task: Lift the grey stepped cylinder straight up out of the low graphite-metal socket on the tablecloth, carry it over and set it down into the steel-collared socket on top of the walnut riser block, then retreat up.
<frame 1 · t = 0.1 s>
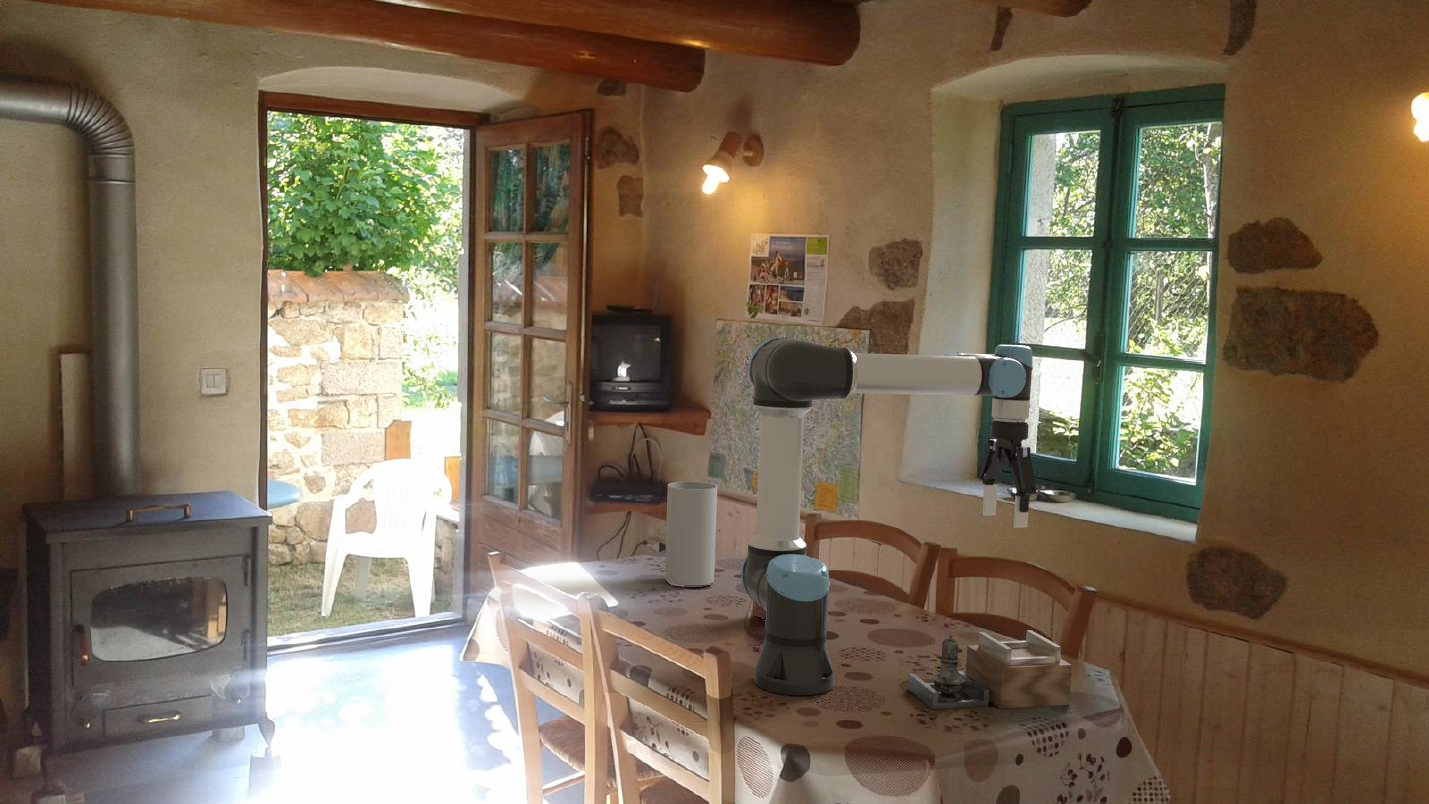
hand: (1004, 521, 248), 28 cm above the table, fingers open, 13 cm apart
milk bottle: (774, 619, 272), on the table
cylinder vase: (689, 583, 303), on the table
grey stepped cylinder: (947, 698, 221), resting in low socket
low socket: (947, 697, 221), on the table
riser: (1016, 694, 224), on the table
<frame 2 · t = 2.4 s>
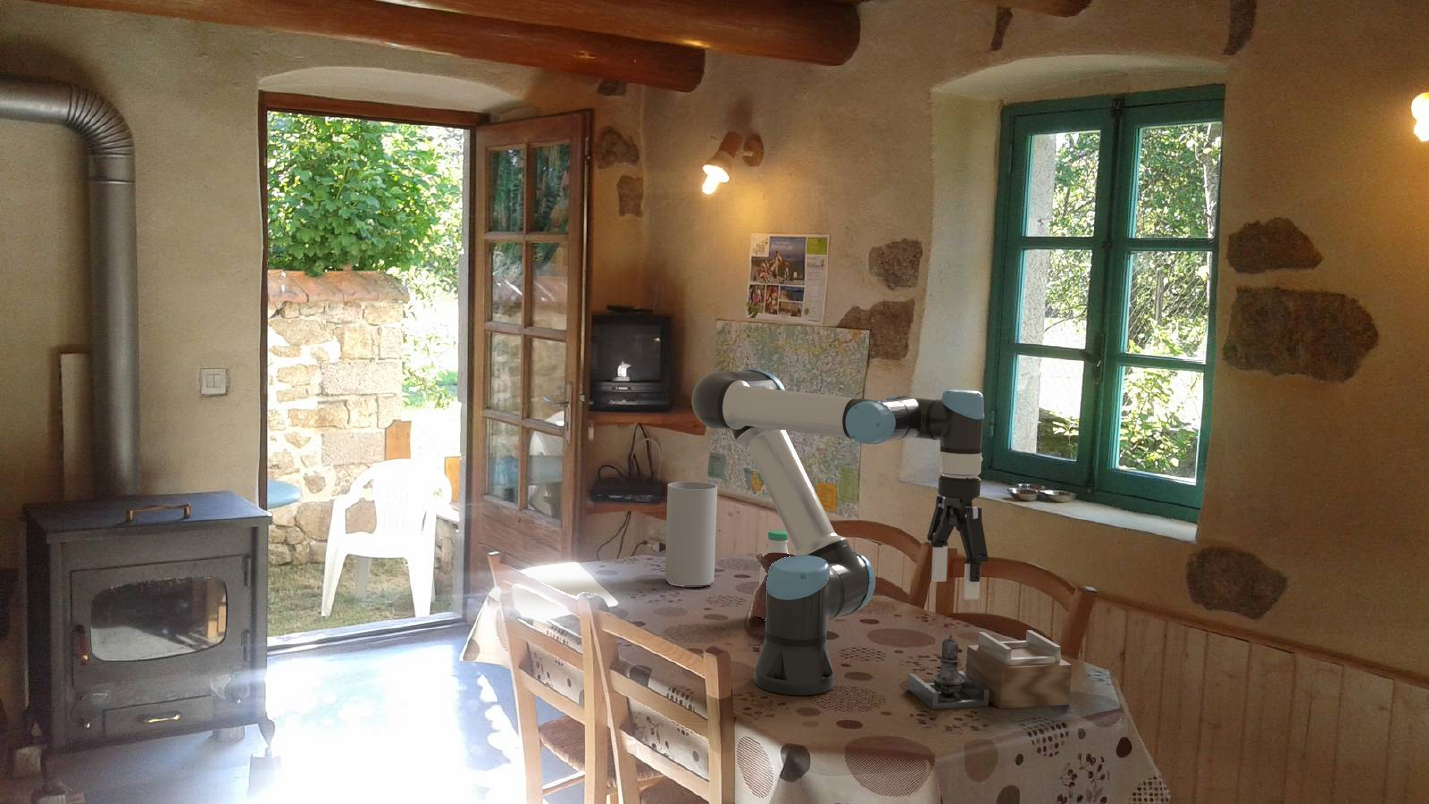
hand: (954, 590, 219), 20 cm above the table, fingers open, 13 cm apart
nothing on the table moved.
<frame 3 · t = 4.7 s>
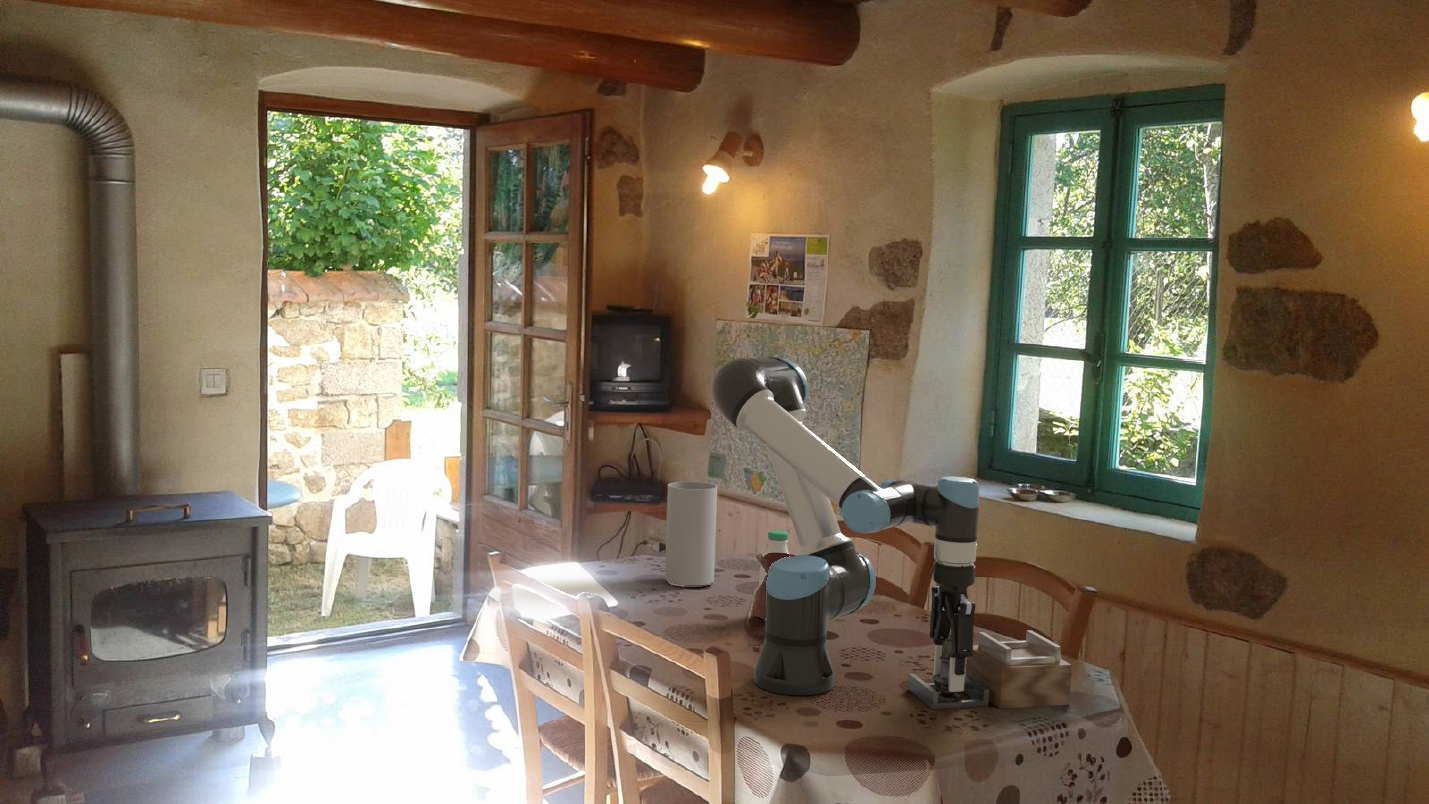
hand: (948, 684, 221), 2 cm above the table, fingers closed on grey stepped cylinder, 6 cm apart
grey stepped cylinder: (947, 698, 221), resting in low socket, touching gripper
everything else where it was.
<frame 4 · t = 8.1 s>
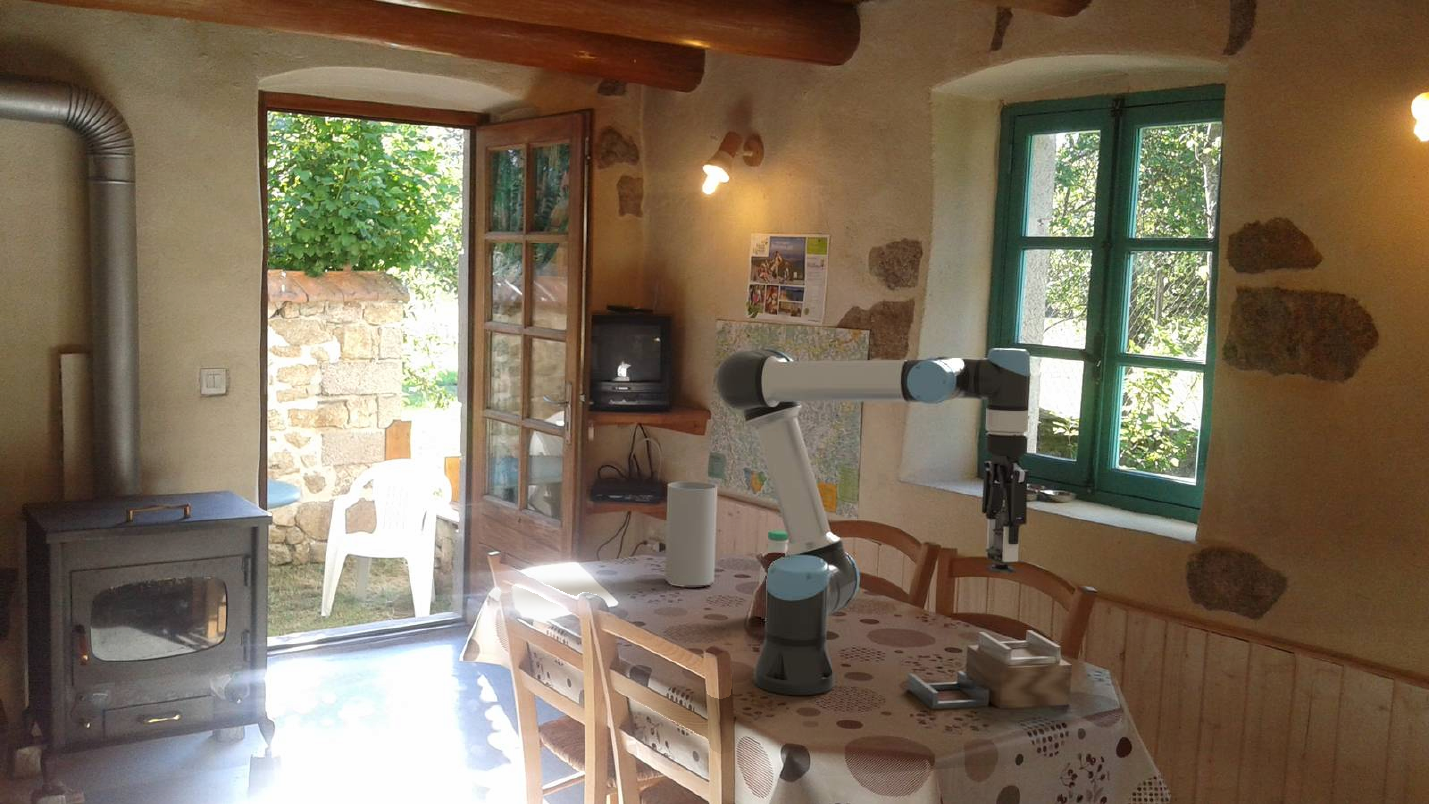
hand: (1002, 557, 220), 26 cm above the table, fingers closed on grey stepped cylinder, 6 cm apart
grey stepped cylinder: (1001, 571, 221), point 24 cm above the table, touching gripper
everything else where it was.
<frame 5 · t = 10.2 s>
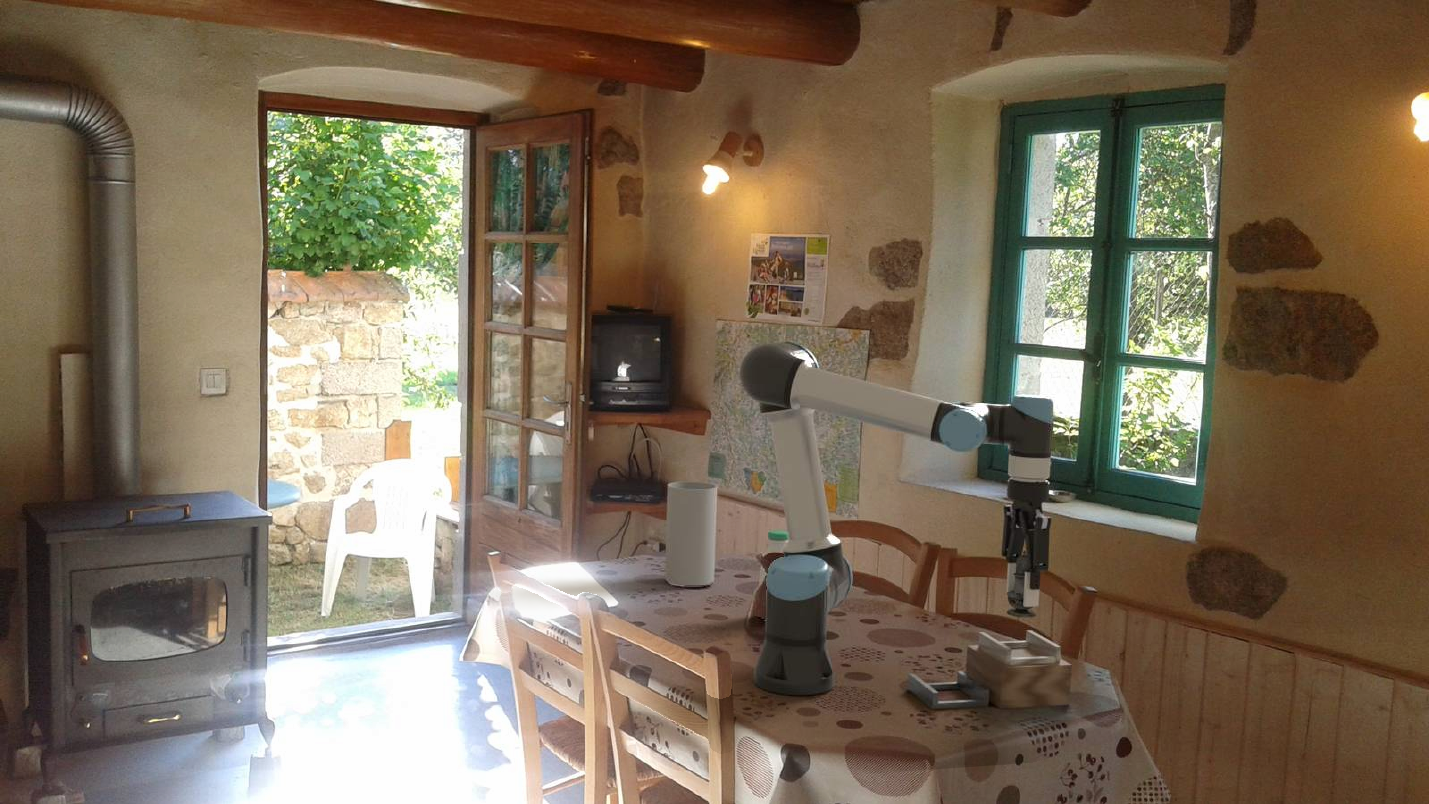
hand: (1022, 601, 223), 18 cm above the table, fingers closed on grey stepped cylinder, 6 cm apart
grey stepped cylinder: (1021, 614, 223), point 15 cm above the table, touching gripper
everything else where it was.
when the fingers open (11 cm above the table, at t = 11.8 s): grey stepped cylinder drops 1 cm, resting on riser.
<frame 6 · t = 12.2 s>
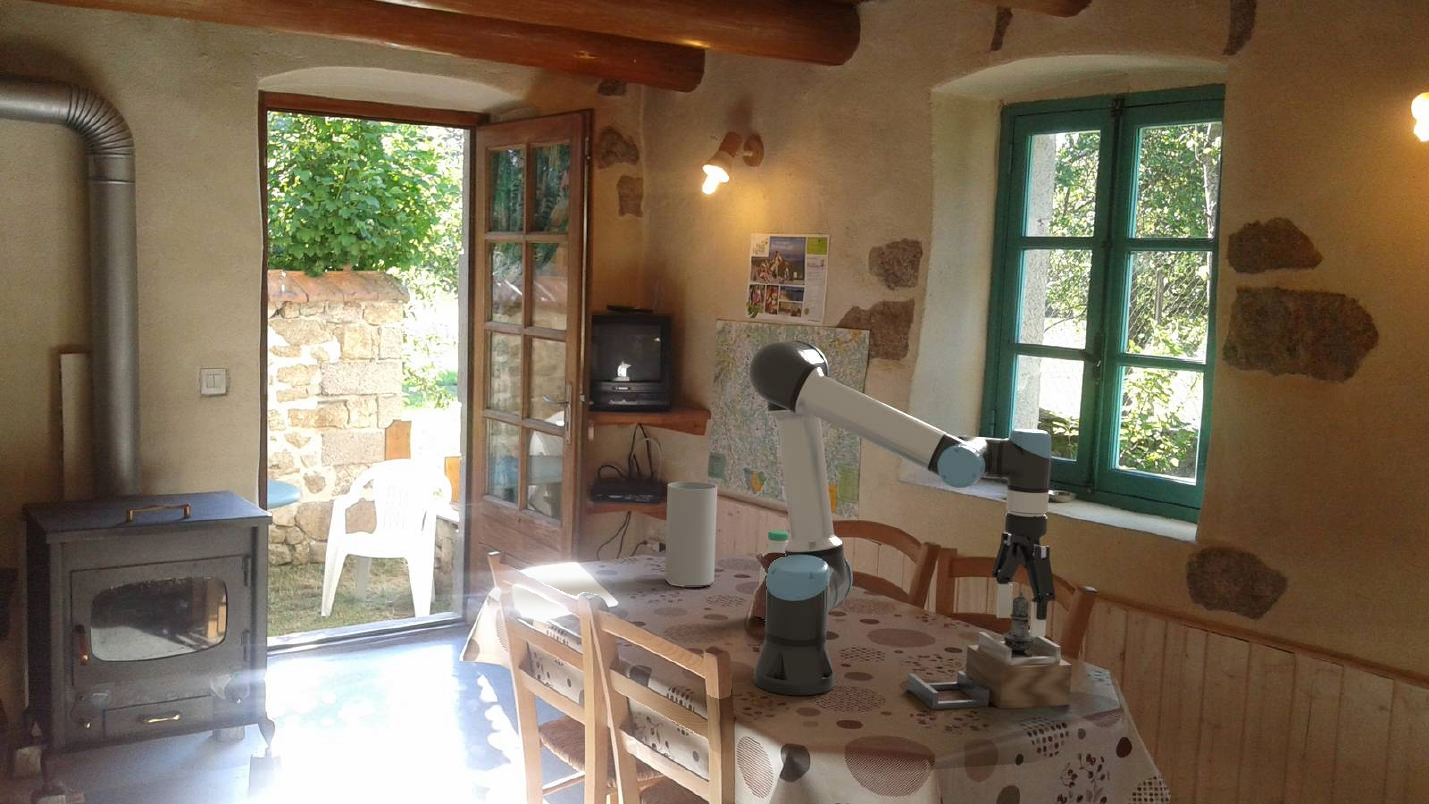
hand: (1020, 626, 223), 13 cm above the table, fingers open, 12 cm apart
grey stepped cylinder: (1017, 655, 224), point 7 cm above the table, touching riser
everything else where it was.
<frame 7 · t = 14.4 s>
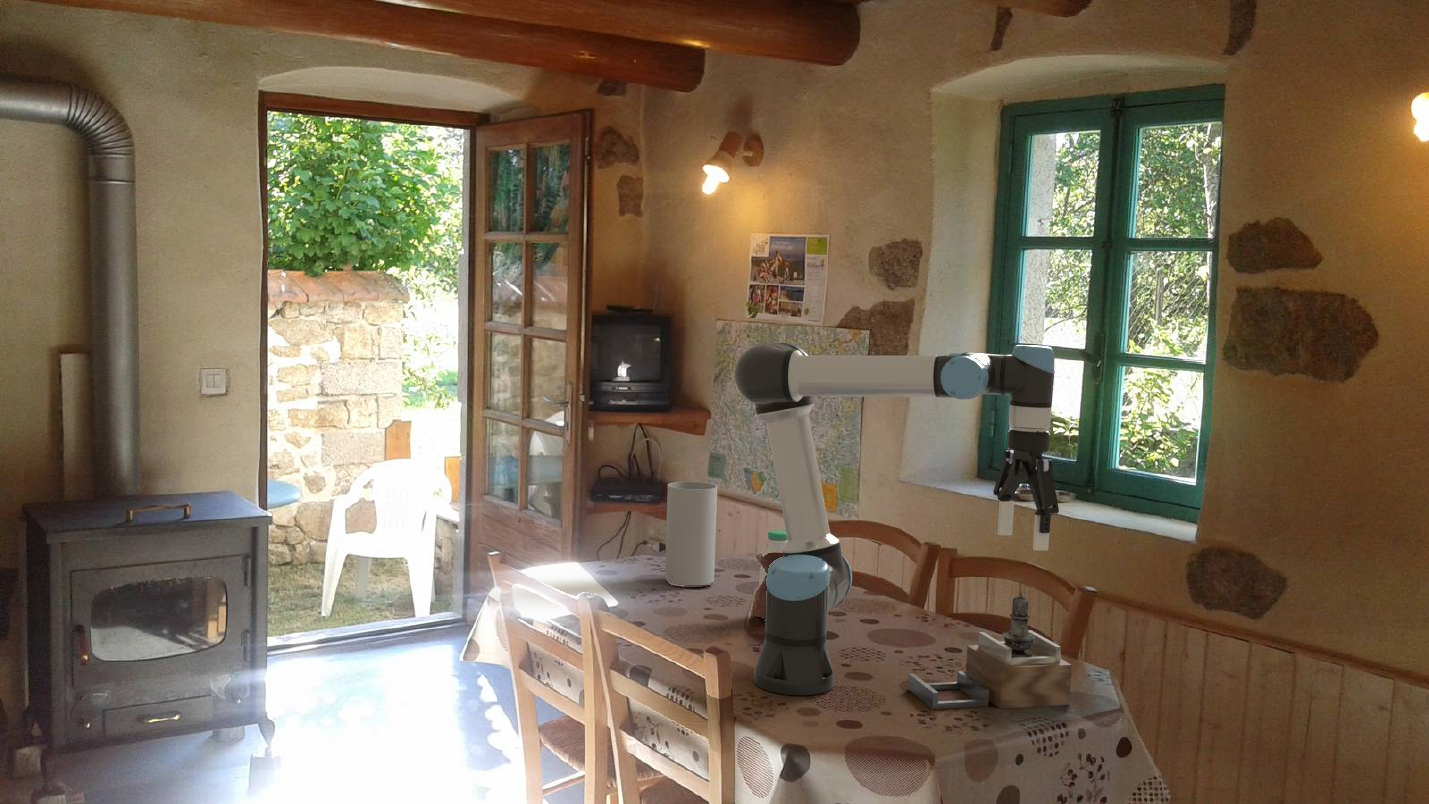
hand: (1022, 542, 222), 29 cm above the table, fingers open, 13 cm apart
nothing on the table moved.
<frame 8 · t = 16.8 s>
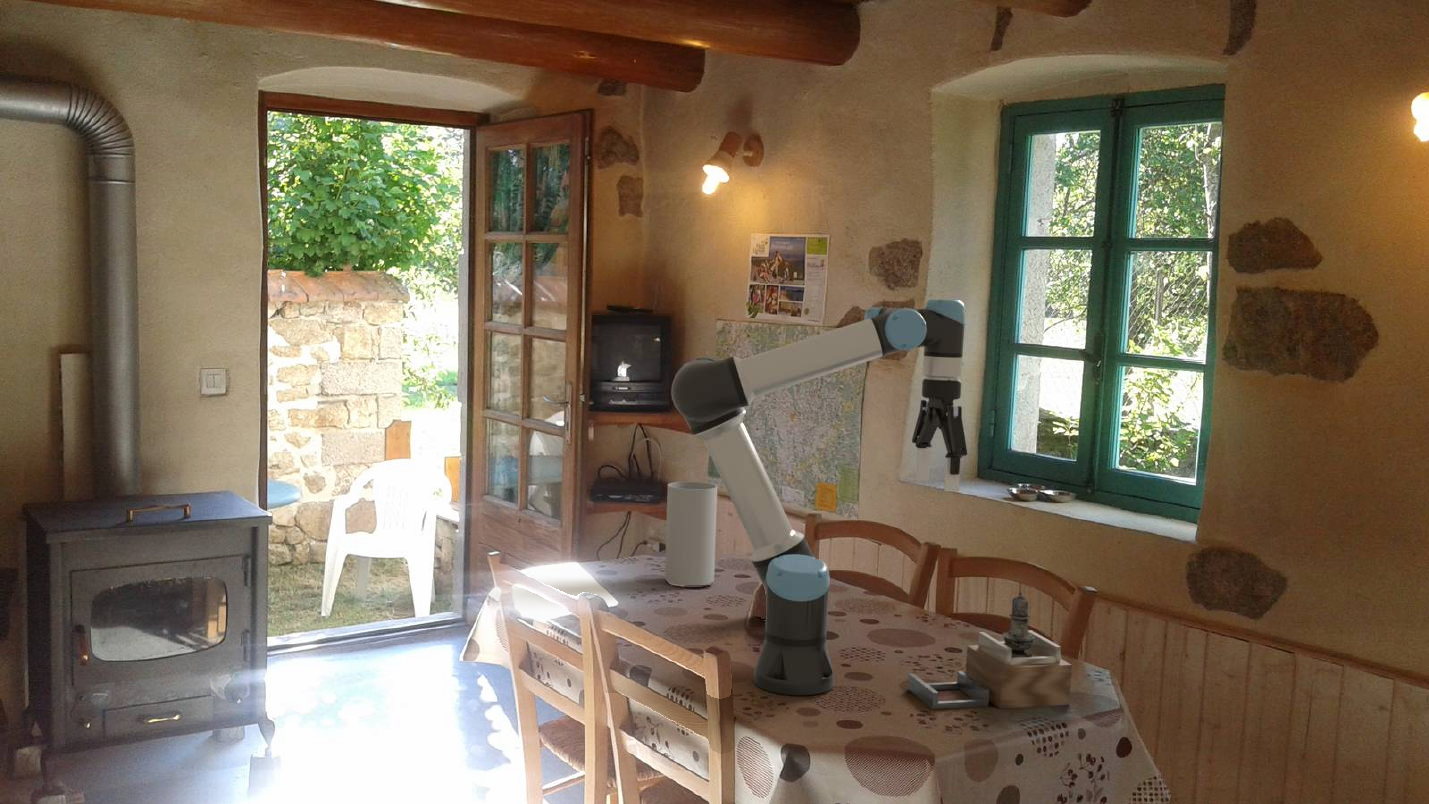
hand: (936, 485, 236), 37 cm above the table, fingers open, 13 cm apart
nothing on the table moved.
at the end: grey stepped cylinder 0.1 cm off-centre on the riser, point 7.3 cm above the riser's base; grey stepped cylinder tilted 1°; the gripper is holding nothing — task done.
